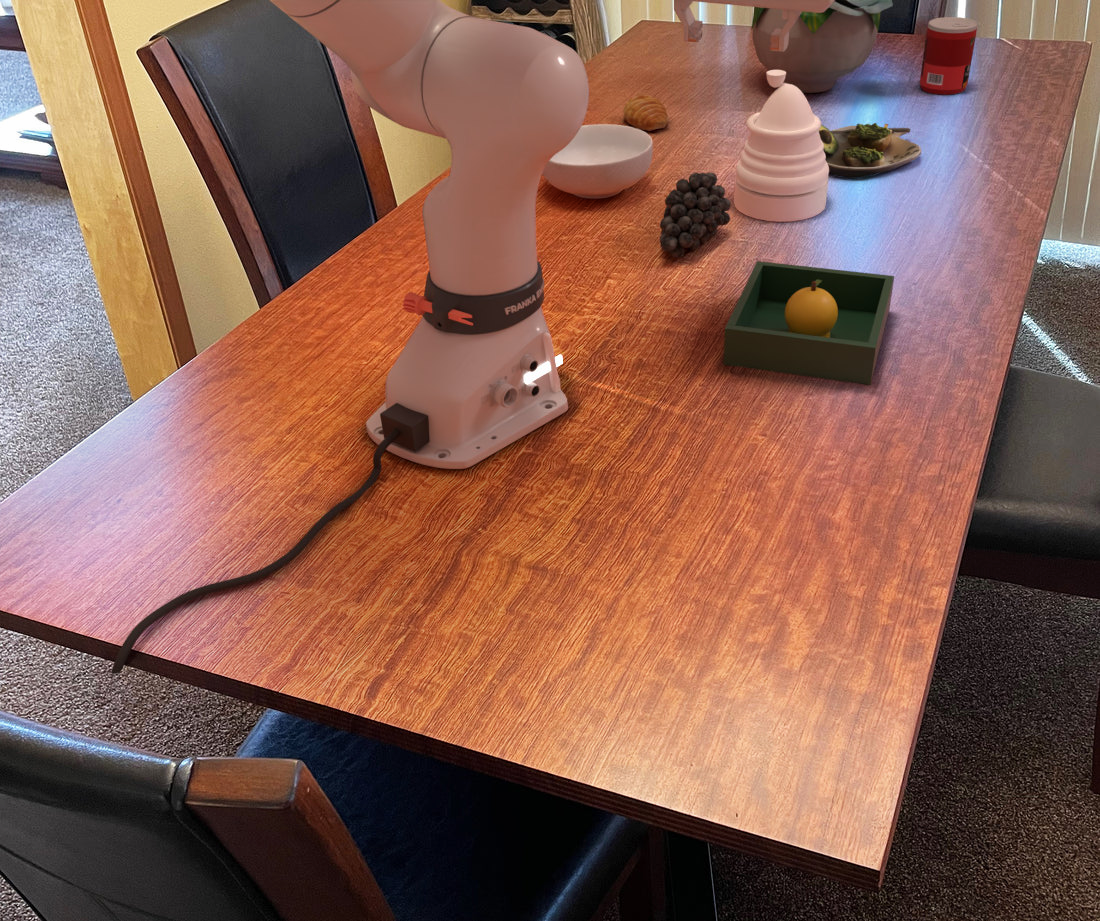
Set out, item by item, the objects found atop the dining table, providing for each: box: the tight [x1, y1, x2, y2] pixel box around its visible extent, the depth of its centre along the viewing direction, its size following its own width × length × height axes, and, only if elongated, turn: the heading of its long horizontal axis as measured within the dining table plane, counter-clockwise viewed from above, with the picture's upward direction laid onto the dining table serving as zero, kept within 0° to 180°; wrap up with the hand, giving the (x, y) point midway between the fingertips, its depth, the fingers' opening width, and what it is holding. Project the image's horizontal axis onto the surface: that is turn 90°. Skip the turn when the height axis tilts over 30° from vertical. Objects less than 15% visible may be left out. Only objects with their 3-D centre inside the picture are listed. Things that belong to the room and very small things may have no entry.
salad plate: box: [818, 122, 922, 179], centre depth 170 cm, size 19×18×5 cm
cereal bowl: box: [542, 123, 654, 200], centre depth 163 cm, size 17×17×7 cm
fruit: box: [659, 172, 732, 259], centre depth 146 cm, size 9×8×15 cm
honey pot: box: [733, 70, 830, 223], centre depth 153 cm, size 13×13×18 cm
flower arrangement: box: [751, 0, 894, 94], centre depth 191 cm, size 25×25×24 cm
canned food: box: [919, 16, 978, 96], centre depth 190 cm, size 8×8×11 cm
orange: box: [785, 280, 838, 338], centre depth 124 cm, size 6×6×7 cm
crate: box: [722, 260, 895, 386], centre depth 125 cm, size 17×16×5 cm
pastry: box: [622, 94, 669, 132], centre depth 186 cm, size 9×7×4 cm
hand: (735, 44), depth 117 cm, fingers open, 8 cm apart
